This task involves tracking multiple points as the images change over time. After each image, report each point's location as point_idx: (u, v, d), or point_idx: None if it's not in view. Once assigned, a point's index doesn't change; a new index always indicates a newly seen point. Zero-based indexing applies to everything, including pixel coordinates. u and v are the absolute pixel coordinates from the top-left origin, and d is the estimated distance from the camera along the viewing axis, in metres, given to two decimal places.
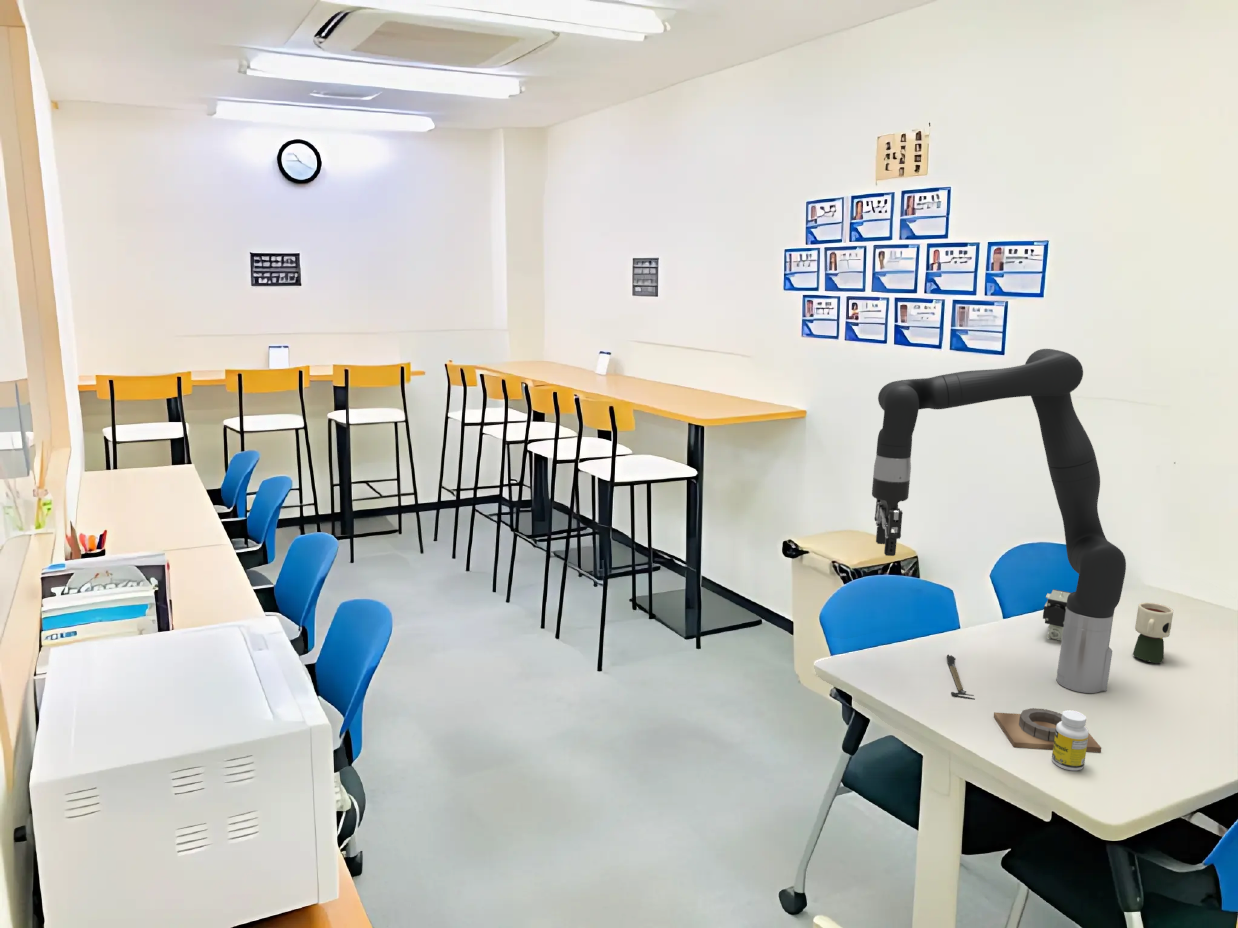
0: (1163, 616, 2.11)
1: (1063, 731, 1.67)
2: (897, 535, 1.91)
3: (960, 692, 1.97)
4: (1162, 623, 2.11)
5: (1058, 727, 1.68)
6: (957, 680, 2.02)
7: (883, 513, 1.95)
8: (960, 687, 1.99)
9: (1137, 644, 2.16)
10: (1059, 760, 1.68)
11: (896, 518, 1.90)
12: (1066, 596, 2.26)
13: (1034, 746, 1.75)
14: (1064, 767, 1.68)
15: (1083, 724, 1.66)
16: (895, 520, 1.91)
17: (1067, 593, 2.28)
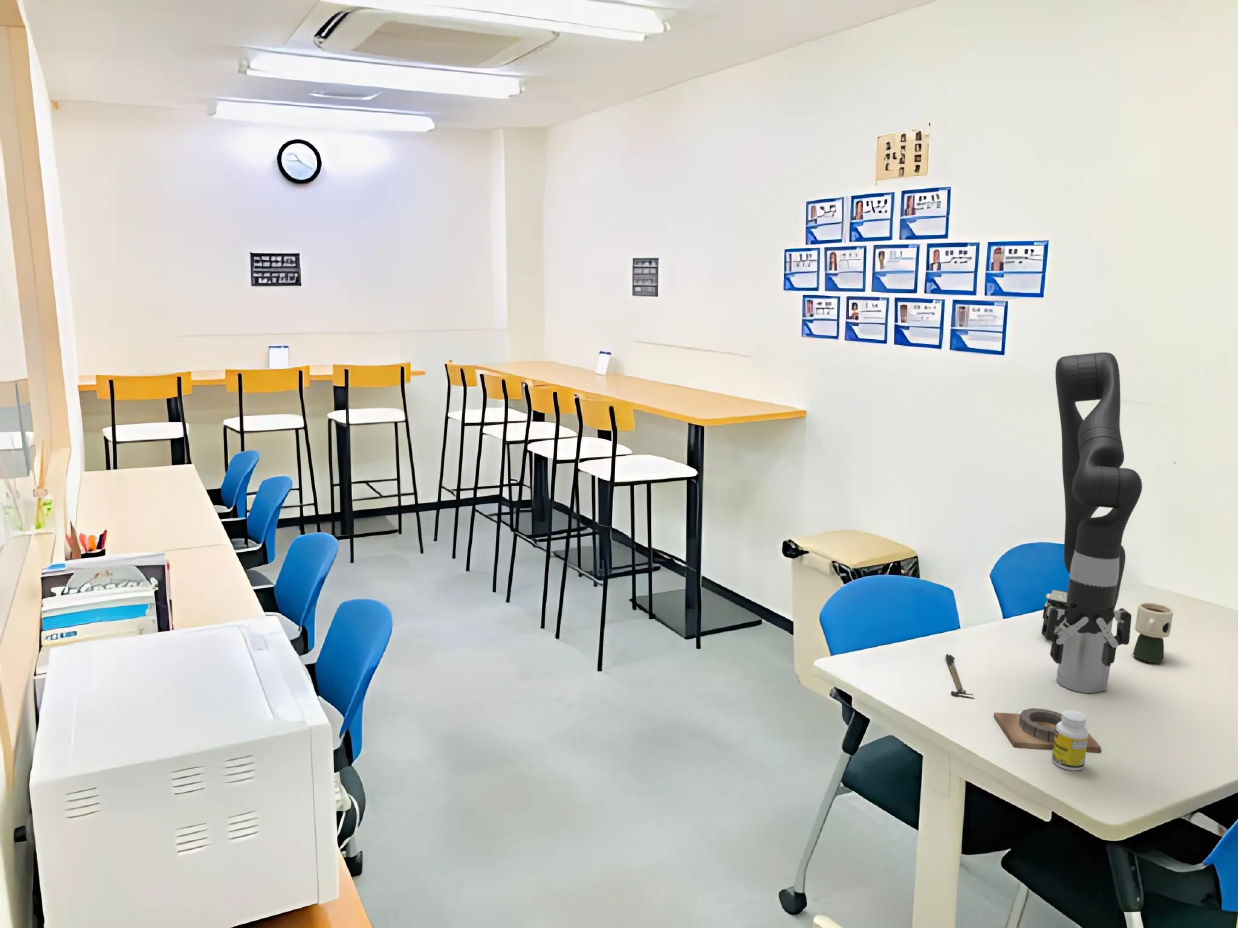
0: (1163, 616, 2.11)
1: (1063, 731, 1.67)
2: None
3: (960, 691, 1.97)
4: (1162, 623, 2.11)
5: (1058, 727, 1.68)
6: (956, 680, 2.02)
7: (1104, 622, 1.62)
8: (960, 686, 1.99)
9: (1137, 644, 2.16)
10: (1059, 760, 1.68)
11: None
12: (1066, 596, 2.26)
13: (1034, 746, 1.75)
14: (1064, 767, 1.68)
15: (1083, 724, 1.66)
16: None
17: None
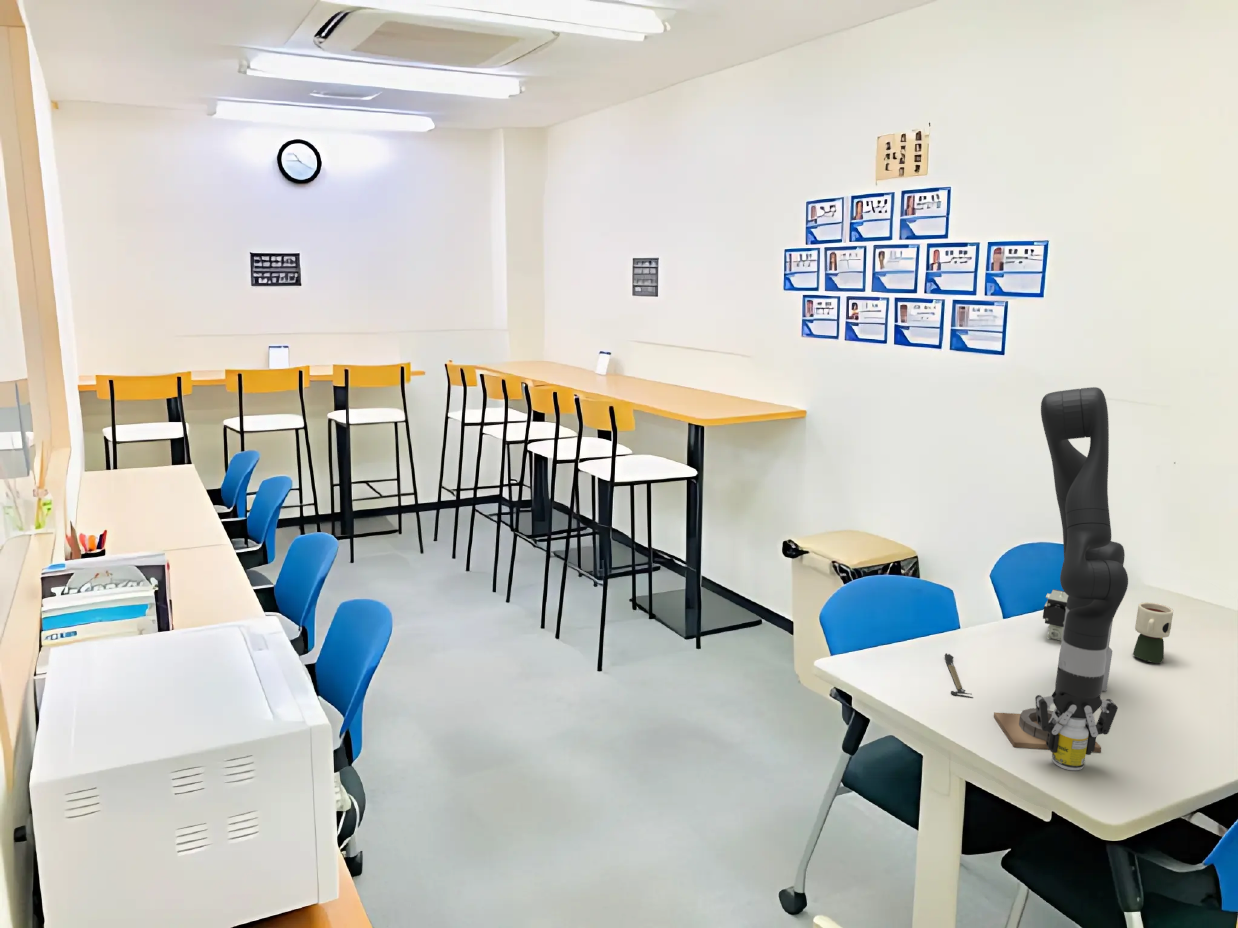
0: (1163, 616, 2.11)
1: (1063, 731, 1.67)
2: None
3: (959, 691, 1.97)
4: (1162, 623, 2.11)
5: None
6: (956, 679, 2.02)
7: None
8: (959, 686, 1.99)
9: (1137, 644, 2.16)
10: (1059, 760, 1.68)
11: None
12: (1066, 596, 2.26)
13: (1034, 746, 1.75)
14: (1064, 767, 1.68)
15: (1083, 724, 1.66)
16: None
17: None
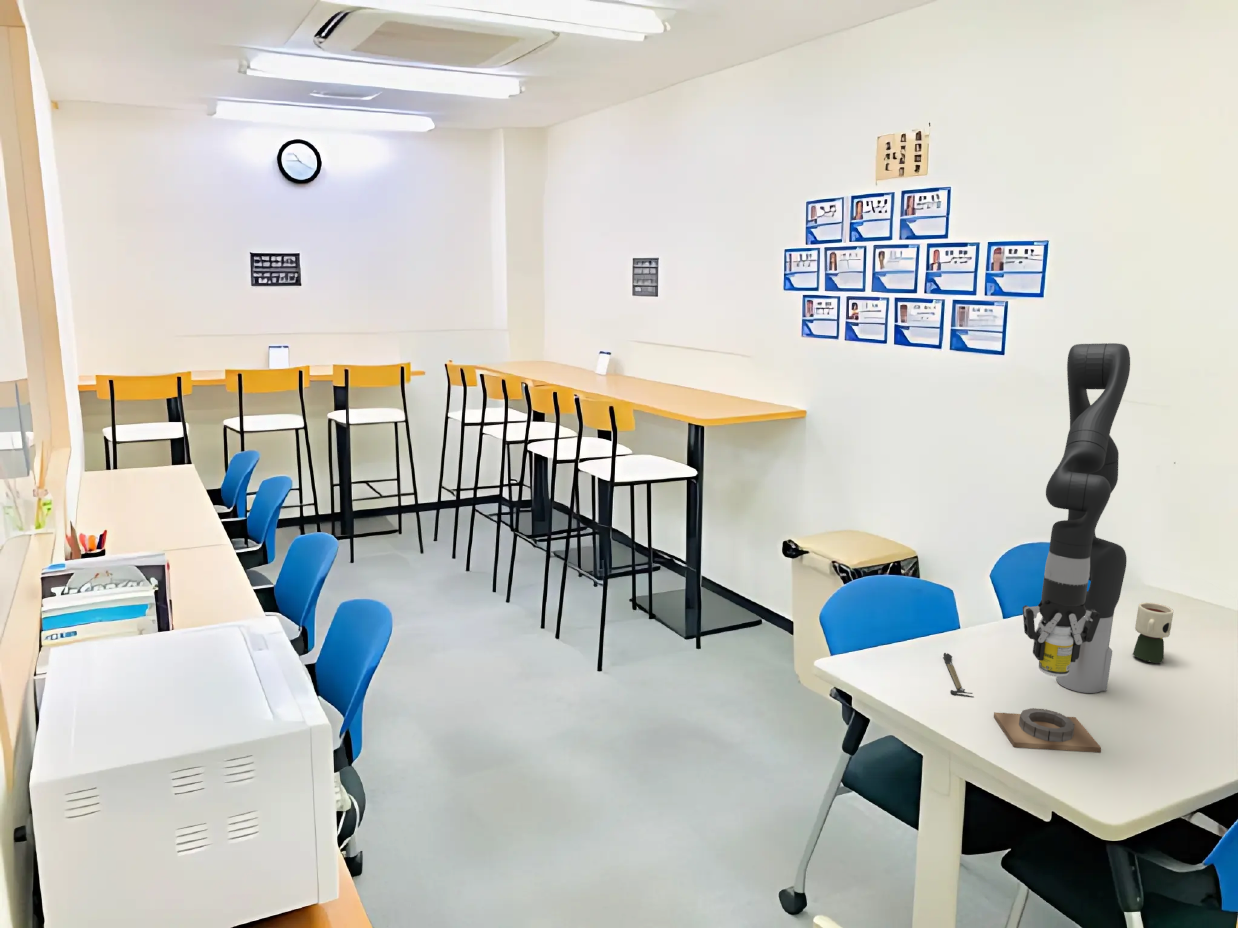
0: (1163, 616, 2.11)
1: (1049, 639, 1.75)
2: None
3: (959, 690, 1.98)
4: (1162, 623, 2.11)
5: None
6: (955, 679, 2.03)
7: None
8: (959, 685, 1.99)
9: (1137, 644, 2.16)
10: (1045, 668, 1.76)
11: None
12: None
13: (1034, 746, 1.75)
14: (1050, 673, 1.76)
15: (1068, 632, 1.74)
16: None
17: None
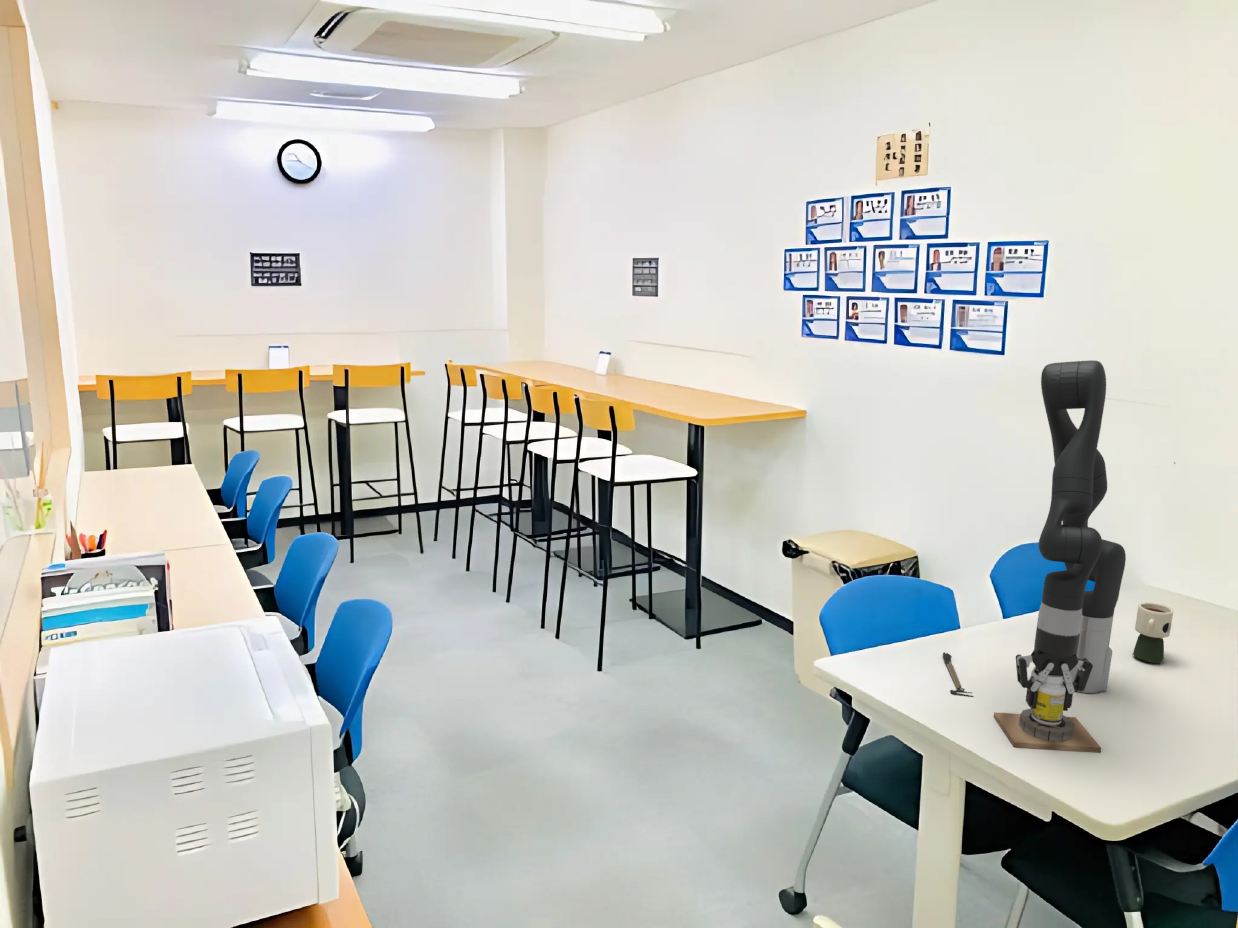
0: (1163, 616, 2.11)
1: (1042, 688, 1.77)
2: None
3: (959, 690, 1.98)
4: (1162, 623, 2.11)
5: None
6: (955, 678, 2.03)
7: None
8: (958, 685, 2.00)
9: (1137, 644, 2.16)
10: (1038, 716, 1.78)
11: None
12: None
13: (1034, 746, 1.75)
14: (1042, 722, 1.78)
15: (1060, 681, 1.76)
16: None
17: None
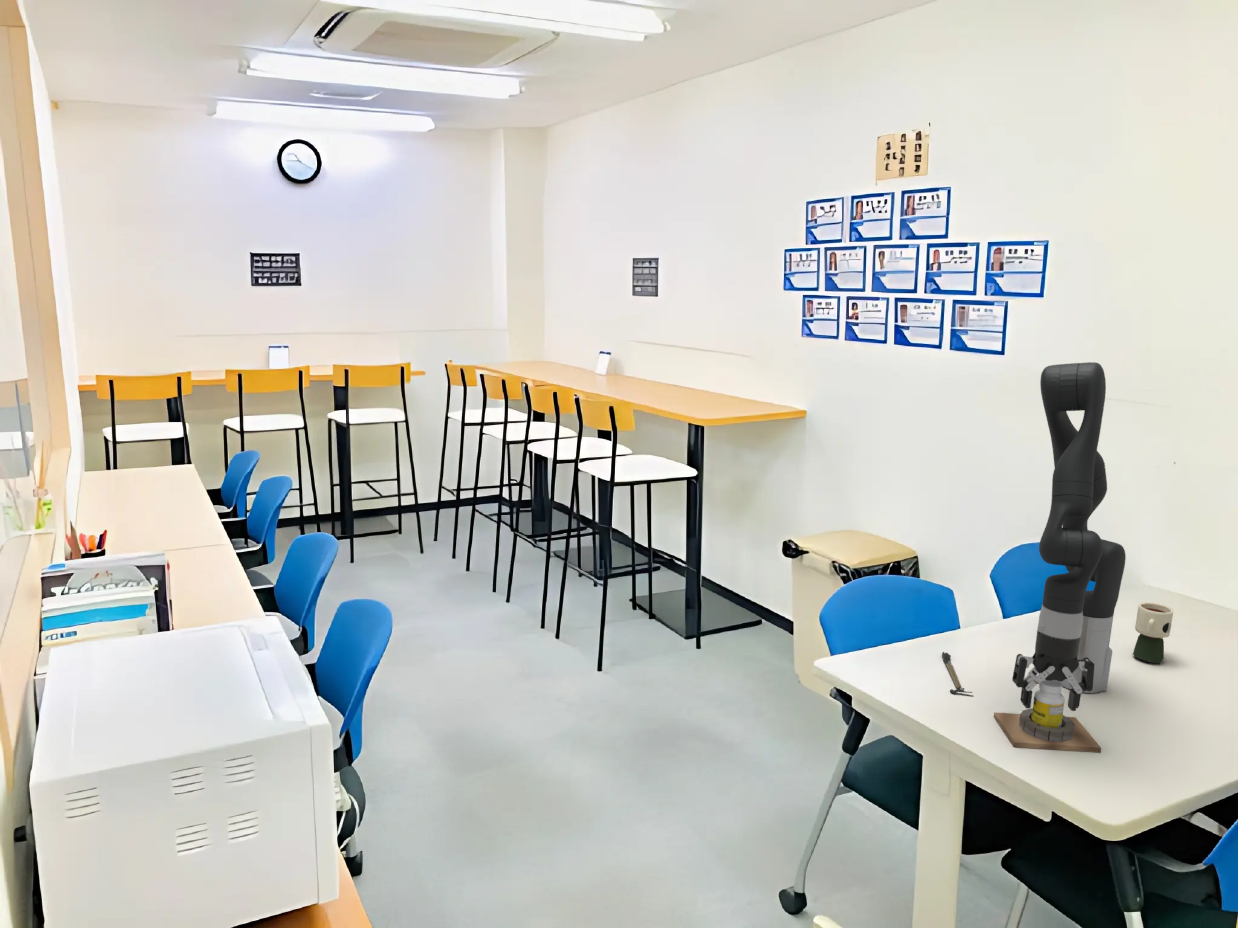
0: (1163, 616, 2.11)
1: (1041, 698, 1.77)
2: None
3: (958, 689, 1.98)
4: (1162, 623, 2.11)
5: (1036, 694, 1.79)
6: (954, 678, 2.03)
7: (1069, 670, 1.76)
8: (958, 684, 2.00)
9: (1137, 644, 2.16)
10: None
11: None
12: None
13: (1034, 746, 1.75)
14: None
15: (1059, 691, 1.77)
16: None
17: None
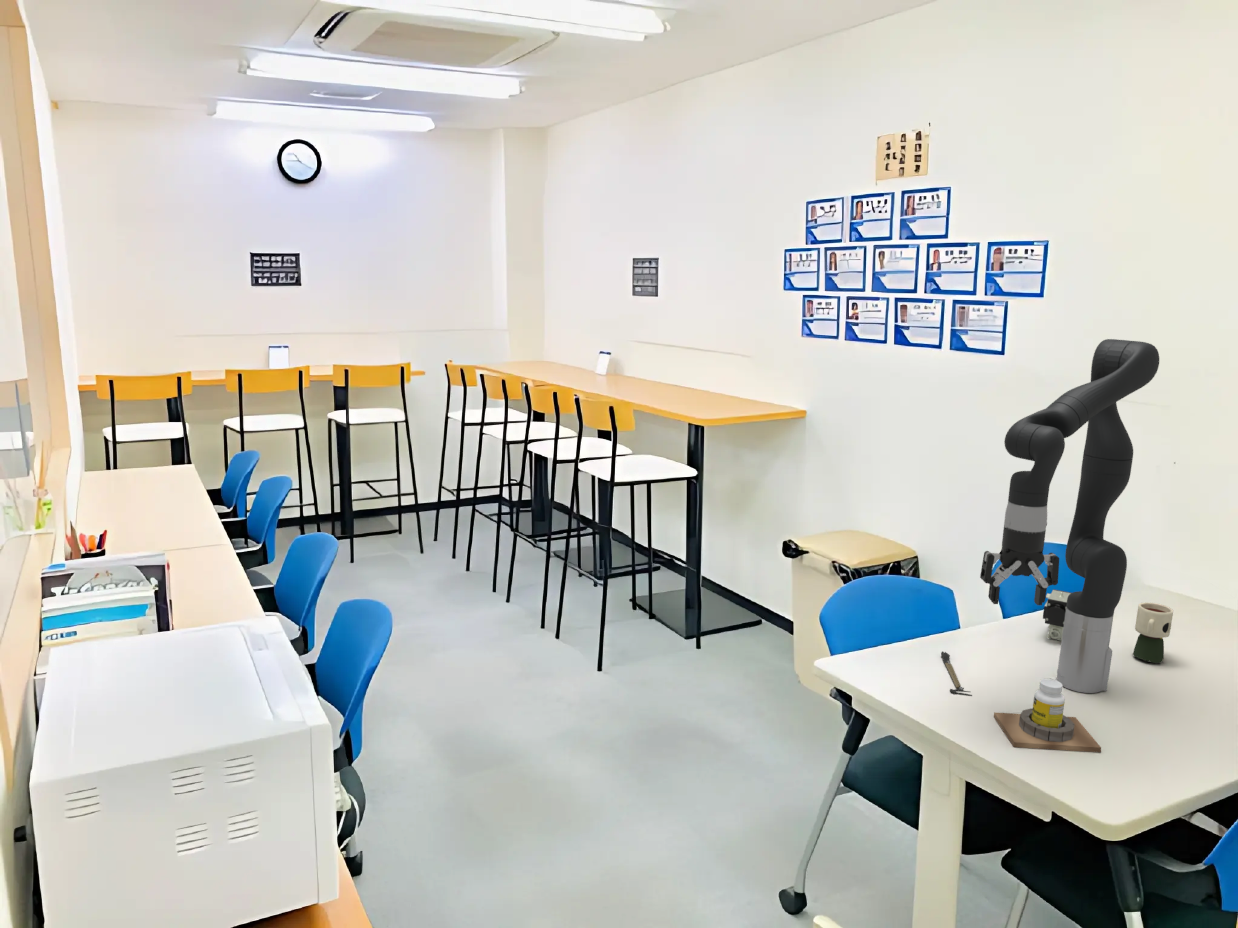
0: (1163, 616, 2.11)
1: (1041, 698, 1.77)
2: None
3: (958, 689, 1.98)
4: (1162, 623, 2.11)
5: (1036, 694, 1.79)
6: (954, 677, 2.03)
7: (1035, 565, 1.80)
8: (958, 684, 2.00)
9: (1137, 644, 2.16)
10: None
11: None
12: (1066, 596, 2.26)
13: (1034, 746, 1.75)
14: None
15: (1060, 691, 1.77)
16: None
17: (1067, 593, 2.28)
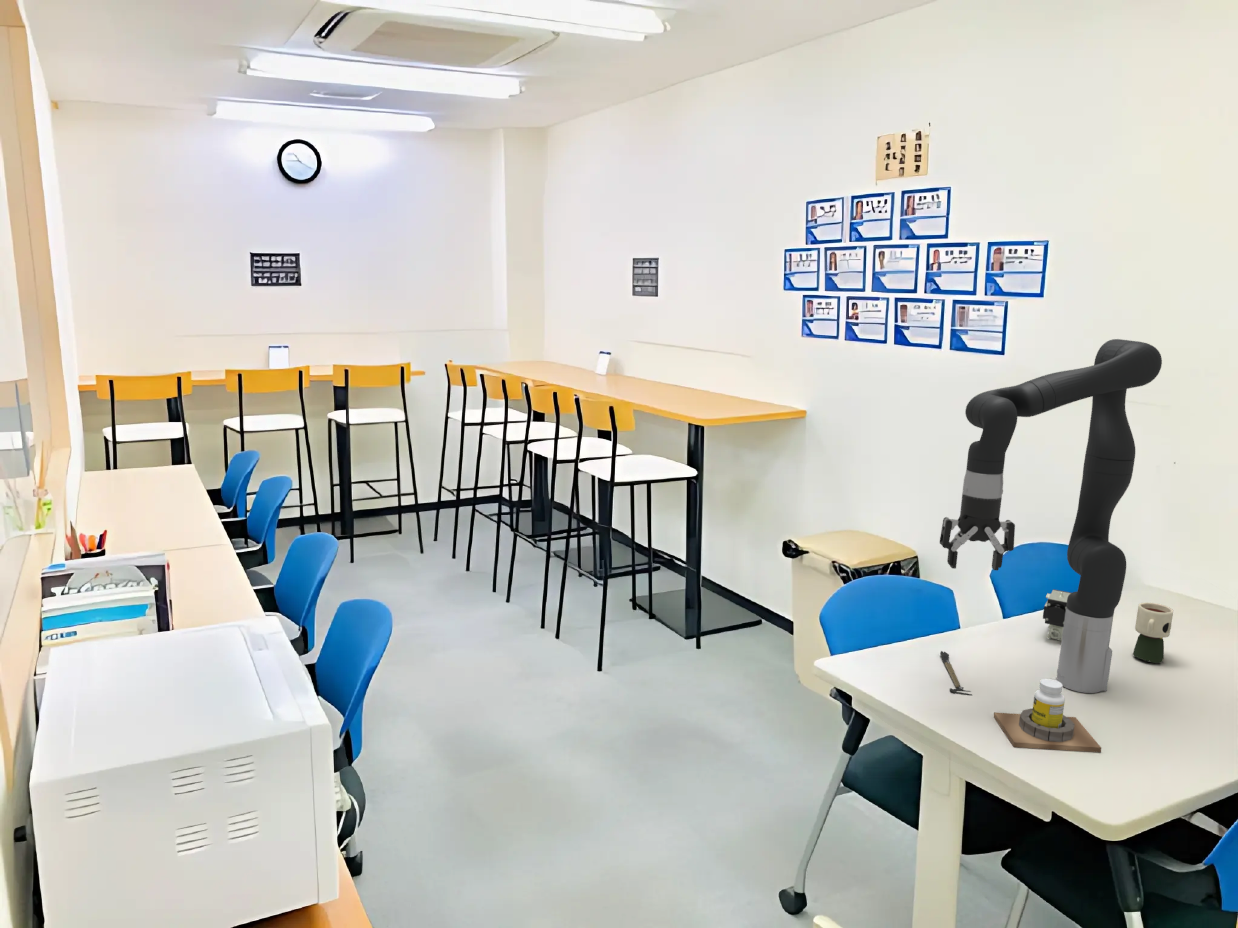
0: (1163, 616, 2.11)
1: (1041, 698, 1.77)
2: None
3: (958, 688, 1.99)
4: (1162, 623, 2.11)
5: (1036, 694, 1.79)
6: (953, 677, 2.03)
7: (991, 531, 1.87)
8: (957, 683, 2.00)
9: (1137, 644, 2.16)
10: None
11: None
12: (1066, 596, 2.26)
13: (1034, 746, 1.75)
14: None
15: (1060, 691, 1.77)
16: None
17: (1067, 593, 2.28)
